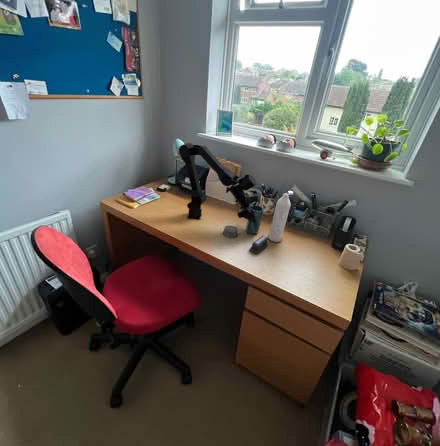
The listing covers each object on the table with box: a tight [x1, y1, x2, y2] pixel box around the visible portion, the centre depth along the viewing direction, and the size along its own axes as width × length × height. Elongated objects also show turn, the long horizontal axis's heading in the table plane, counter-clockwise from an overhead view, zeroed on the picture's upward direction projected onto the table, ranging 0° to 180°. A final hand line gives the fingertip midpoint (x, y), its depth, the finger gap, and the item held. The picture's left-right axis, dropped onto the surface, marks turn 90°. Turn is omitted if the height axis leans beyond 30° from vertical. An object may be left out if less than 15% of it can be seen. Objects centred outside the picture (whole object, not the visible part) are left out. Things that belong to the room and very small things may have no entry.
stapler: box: [249, 235, 269, 255], centre depth 116 cm, size 10×4×4 cm, turn 142°
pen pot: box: [245, 204, 264, 234], centre depth 126 cm, size 7×7×13 cm
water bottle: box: [267, 190, 294, 243], centre depth 120 cm, size 9×6×25 cm
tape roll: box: [223, 224, 238, 238], centre depth 125 cm, size 7×7×3 cm
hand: (257, 219), depth 125 cm, fingers closed on pen pot, 7 cm apart
